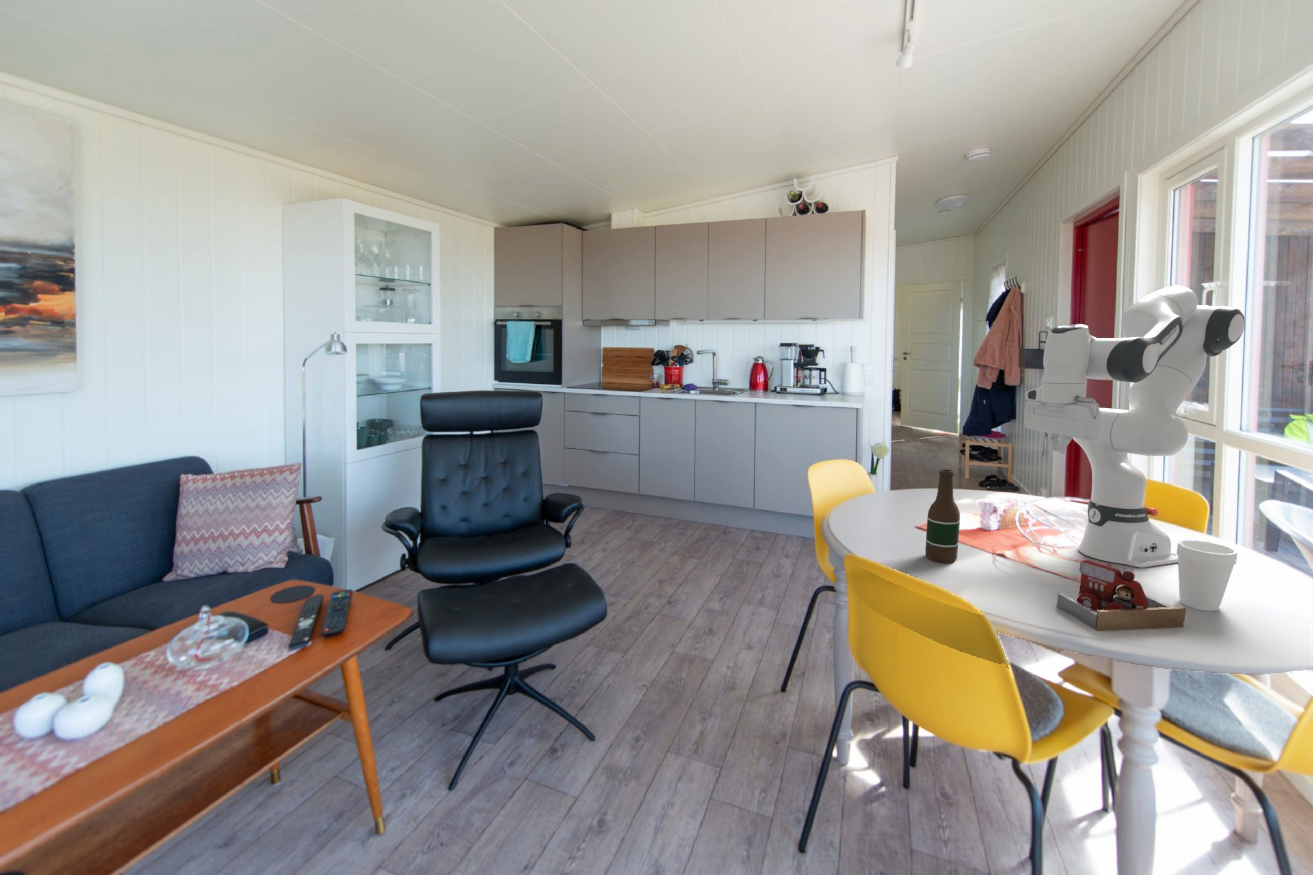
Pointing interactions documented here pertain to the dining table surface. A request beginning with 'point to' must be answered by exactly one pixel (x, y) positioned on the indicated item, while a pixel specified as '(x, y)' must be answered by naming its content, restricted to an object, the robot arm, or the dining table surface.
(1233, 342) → the robot arm
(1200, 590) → the foam cup
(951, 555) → the beer bottle
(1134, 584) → the toy fire truck
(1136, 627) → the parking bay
